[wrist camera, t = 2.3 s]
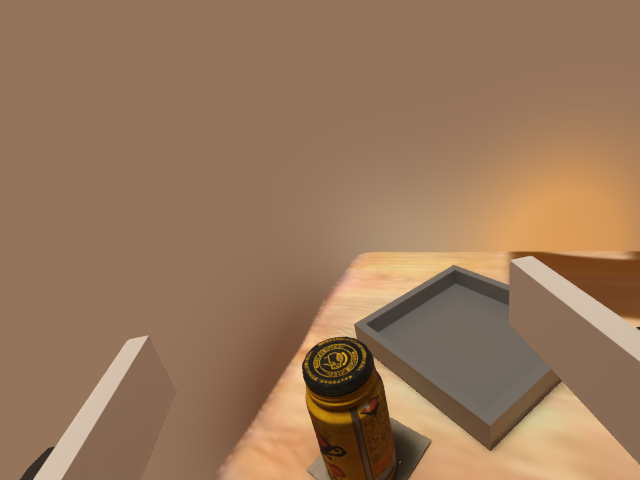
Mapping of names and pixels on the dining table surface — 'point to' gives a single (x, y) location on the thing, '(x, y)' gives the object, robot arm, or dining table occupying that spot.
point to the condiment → (355, 416)
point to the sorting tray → (461, 352)
